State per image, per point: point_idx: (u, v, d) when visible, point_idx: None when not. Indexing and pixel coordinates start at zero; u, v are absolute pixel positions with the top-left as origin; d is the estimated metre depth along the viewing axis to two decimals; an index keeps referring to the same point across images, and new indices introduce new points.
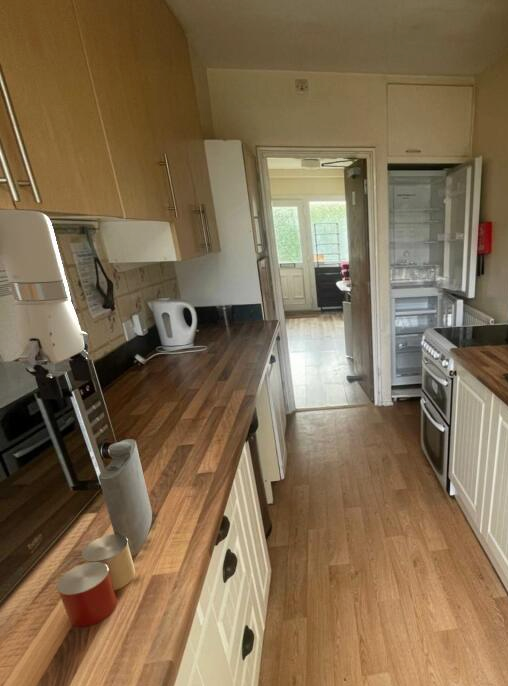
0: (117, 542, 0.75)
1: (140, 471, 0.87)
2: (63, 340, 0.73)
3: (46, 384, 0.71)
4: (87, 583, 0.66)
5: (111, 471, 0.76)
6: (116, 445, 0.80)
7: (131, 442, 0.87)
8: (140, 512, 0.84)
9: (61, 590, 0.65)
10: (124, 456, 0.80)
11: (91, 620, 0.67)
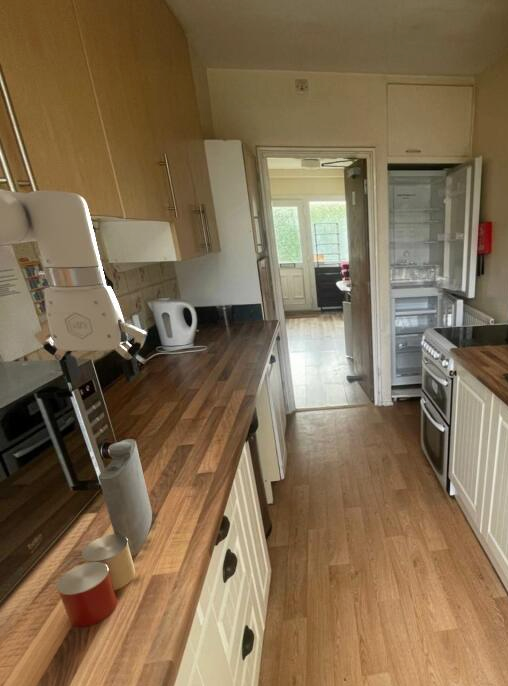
0: (117, 542, 0.75)
1: (140, 471, 0.87)
2: None
3: (135, 363, 0.75)
4: (87, 583, 0.66)
5: (111, 471, 0.76)
6: (116, 445, 0.80)
7: (131, 442, 0.87)
8: (140, 512, 0.84)
9: (61, 590, 0.65)
10: (124, 456, 0.80)
11: (91, 620, 0.67)
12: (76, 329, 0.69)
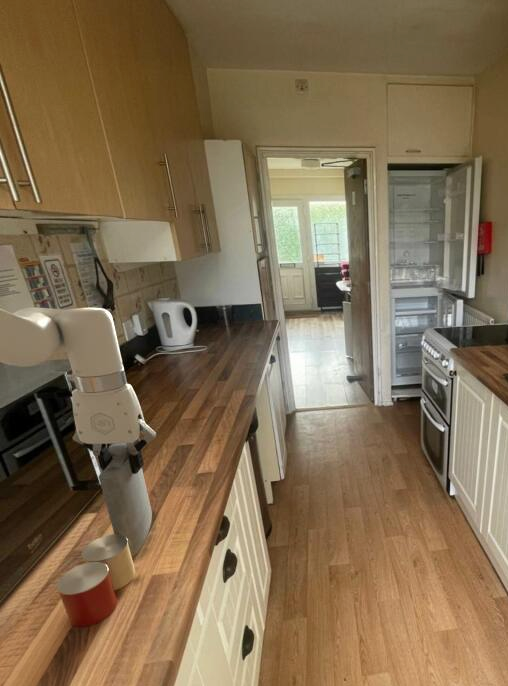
0: (117, 542, 0.75)
1: (140, 471, 0.87)
2: None
3: (140, 456, 0.82)
4: (87, 583, 0.66)
5: (111, 471, 0.76)
6: (116, 445, 0.80)
7: None
8: (140, 512, 0.84)
9: (61, 590, 0.65)
10: (124, 456, 0.80)
11: (91, 620, 0.67)
12: (100, 426, 0.75)
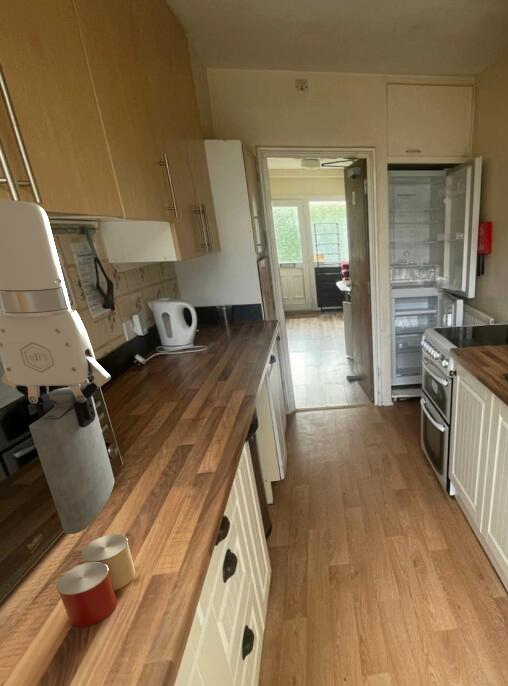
0: (117, 542, 0.75)
1: (95, 428, 0.70)
2: None
3: (91, 405, 0.65)
4: (87, 583, 0.66)
5: (48, 420, 0.59)
6: (59, 390, 0.63)
7: None
8: (92, 478, 0.67)
9: (61, 590, 0.65)
10: (69, 404, 0.63)
11: (91, 620, 0.67)
12: (34, 361, 0.58)
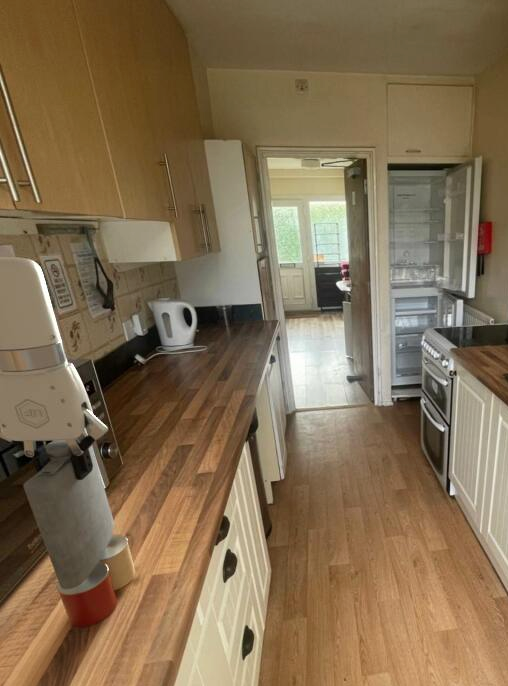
0: (117, 542, 0.75)
1: (94, 476, 0.68)
2: None
3: (88, 457, 0.63)
4: (87, 583, 0.66)
5: (43, 477, 0.58)
6: (56, 443, 0.62)
7: None
8: (89, 529, 0.65)
9: (61, 590, 0.65)
10: (65, 457, 0.61)
11: (91, 620, 0.67)
12: (29, 417, 0.57)
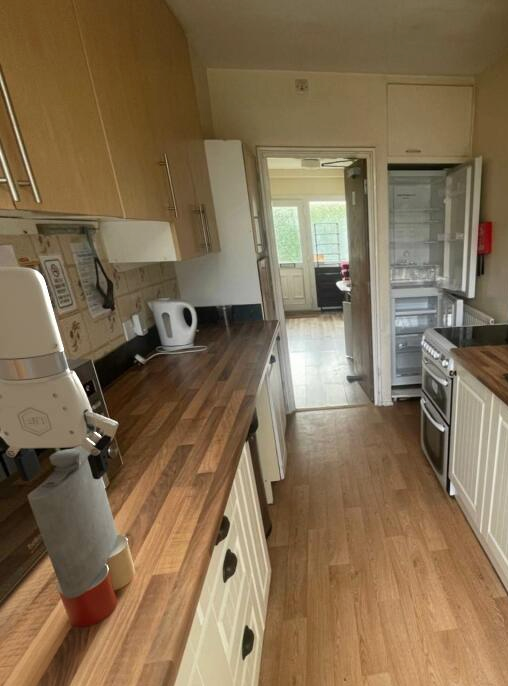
0: (117, 542, 0.75)
1: (97, 485, 0.69)
2: None
3: (105, 456, 0.63)
4: None
5: (47, 488, 0.59)
6: (60, 453, 0.62)
7: None
8: (92, 539, 0.66)
9: (61, 590, 0.65)
10: (69, 468, 0.62)
11: (91, 620, 0.67)
12: (31, 425, 0.57)
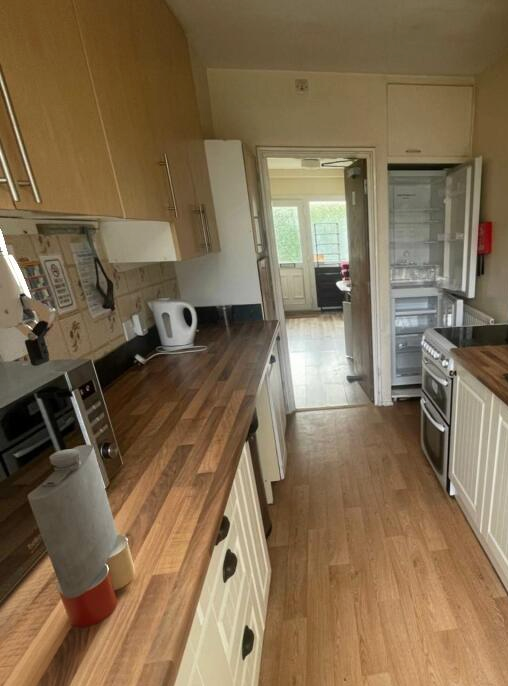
0: (117, 542, 0.75)
1: (97, 485, 0.69)
2: None
3: (43, 344, 0.66)
4: None
5: (47, 488, 0.59)
6: (60, 453, 0.62)
7: (88, 448, 0.69)
8: (92, 539, 0.66)
9: (61, 590, 0.65)
10: (69, 468, 0.62)
11: (91, 620, 0.67)
12: None
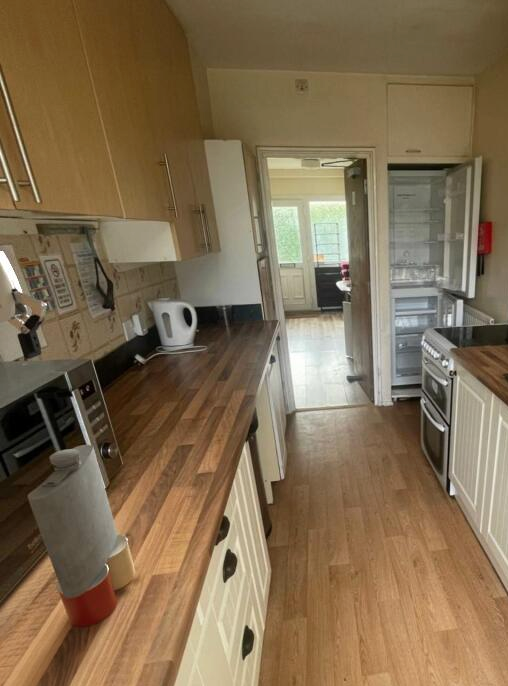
0: (117, 542, 0.75)
1: (97, 485, 0.69)
2: None
3: (36, 338, 0.68)
4: None
5: (47, 488, 0.59)
6: (60, 453, 0.62)
7: (88, 448, 0.69)
8: (92, 539, 0.66)
9: (61, 590, 0.65)
10: (69, 468, 0.62)
11: (91, 620, 0.67)
12: None
